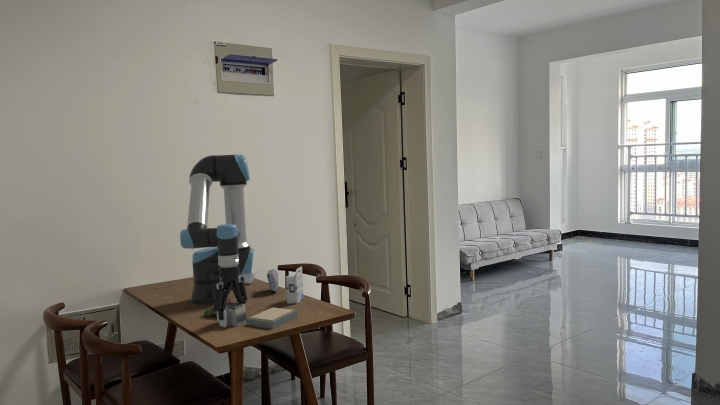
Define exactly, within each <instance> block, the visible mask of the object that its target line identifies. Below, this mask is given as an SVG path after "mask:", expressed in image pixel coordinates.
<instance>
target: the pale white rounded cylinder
mask: <svg viewBox="0 0 720 405" xmlns="http://www.w3.org/2000/svg"><path fill="white" fill-rule="evenodd" d="M238 277H244V285H248V284H252V283H253V281H254V280H255V266H254V264H252V272H251V273H250V274H246V275H238Z"/></svg>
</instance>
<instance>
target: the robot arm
mask: <svg viewBox="0 0 720 405" xmlns="http://www.w3.org/2000/svg"><path fill="white" fill-rule="evenodd" d="M248 166H249V165H248V162H247V158H246V156H245V155H243V154H217V155H215V154H214V155H213V154H212V155H211V154H210V155H207V156H204V157H203V158H201V159H200V160H198V161H197V162H196V164H195V165H194V166H193V167H192V169H191V171H190V173H189V182H188V183H189V184H190V194H189V195H190V196H189V205H188V206H189V207H188V215H187V216H188V217H187V224H186V225H187V228H184V229H182V230H181V231H180V234H179V240H180V241H179V242H180V246H181V247H182V248H183V249H193V250H194V249H198V250H196V251H195V252H193V253H192V256H191V257H192V262H191V264H192V274H193V275H192V277H193V288H192V292H191V295H190V303H191V304H195V305H210V304H213V305H214V311H218V315H219V320H220V324H219V327H221V326H223V327H222V328H226V326H227V327H228V325H227V318H226V311H224V310H225V306H226V302H227V301H228V297H229V294H230V293H231V291H232V293H233V295H234V297H235V299H236V301H237V302H236V303H241V304H244V305H246V304H247V301H248V295H247V291H246V286H245V285H246V284H244V277H239V275H246V274H250V273H251V272H252V264H253V262H254V248H253V247H251V244H250V243H249V242H248V241H247V229H246V225H247V224H246V210H245V192H244V189H245V187H247V185H248V184H247V183H248V182H247V181H250V180H251V178H250V171H249V167H248ZM214 182H215V183H218V182H219V186H220V188H222V189H223V195H224V196H223V198H224V213H225V214H224V216H225V224H220V225H217V226H216V227H208V222H209V221H208V218H209V205H210V204H209V203H210V191H211V190H210V189H211V186H213V183H214ZM253 265H254V264H253ZM217 307H218V308H217ZM221 307H222V308H221Z"/></svg>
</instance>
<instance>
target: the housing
mask: <svg viewBox="0 0 720 405" xmlns="http://www.w3.org/2000/svg"><path fill="white" fill-rule="evenodd" d="M246 307H247V306H246V304H241V303H238V302H233V301H230V302H226V306H225V310H224V311H226V318H227V326H229V325H232V326H231V327H239V326H241V325H243V324H246V323H247V308H246ZM217 308H218V307H217ZM221 308H222V307H221ZM216 321H217V322H216V323H217V324H218V325H220V320H219V315H218V311H217V314H216ZM245 322H246V323H245ZM240 324H241V325H240ZM238 325H239V326H238Z"/></svg>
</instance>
